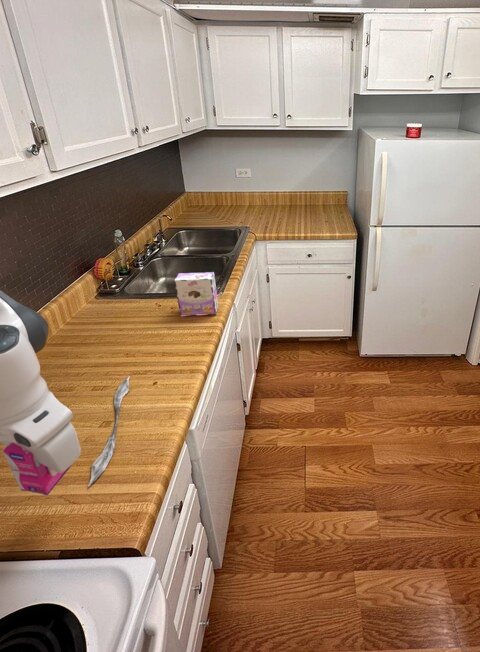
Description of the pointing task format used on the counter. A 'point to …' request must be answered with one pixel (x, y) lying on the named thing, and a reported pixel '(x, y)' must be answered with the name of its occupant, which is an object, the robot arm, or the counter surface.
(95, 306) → the counter surface
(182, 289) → the candy box
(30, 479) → the supplement box
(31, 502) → the counter surface
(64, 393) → the counter surface
